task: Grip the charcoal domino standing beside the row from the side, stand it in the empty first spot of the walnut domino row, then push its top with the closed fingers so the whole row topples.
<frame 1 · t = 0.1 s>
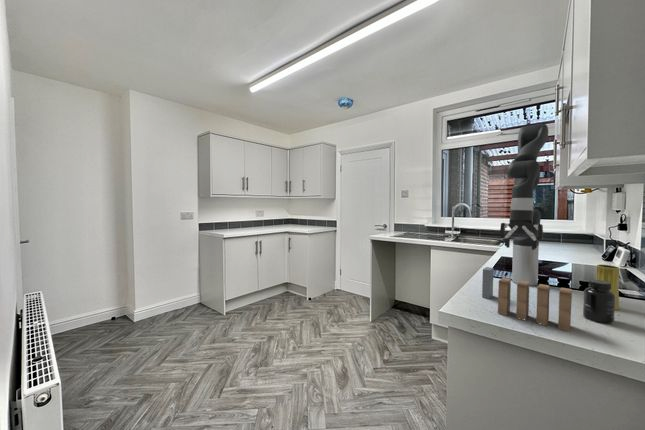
hand: (520, 248, 111), 17 cm above the counter, tool pointing down, fingers open, 8 cm apart
vase: (605, 307, 93), on the counter
supplement bottle: (598, 320, 84), on the counter
domino 2: (522, 316, 86), on the counter
domino 3: (542, 321, 82), on the counter
domino 1: (503, 312, 89), on the counter
domino 4: (564, 327, 79), on the counter
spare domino: (487, 296, 104), on the counter
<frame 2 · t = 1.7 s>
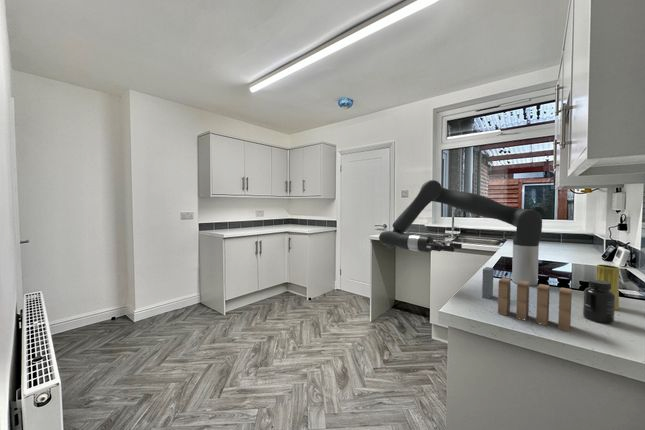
hand: (457, 247, 111), 18 cm above the counter, tool horizontal, fingers open, 8 cm apart
nothing on the counter moved.
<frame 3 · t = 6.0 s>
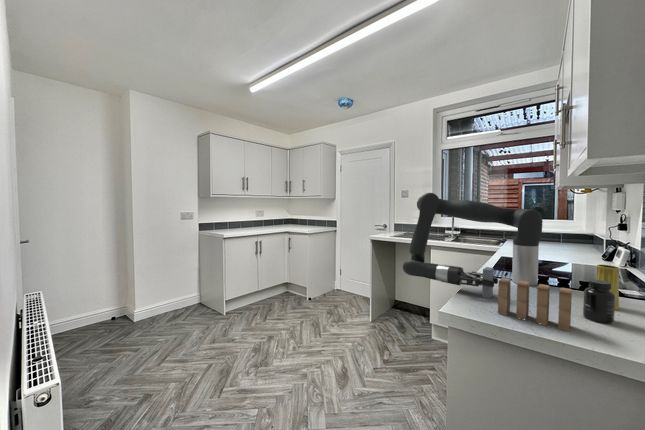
hand: (495, 282, 102), 6 cm above the counter, tool horizontal, fingers closed on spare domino, 5 cm apart
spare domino: (487, 296, 104), on the counter, touching gripper
everything else where it was.
when the fingers open (7 cm above the counter, at t = 11.6 s): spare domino stays where it is, on the counter.
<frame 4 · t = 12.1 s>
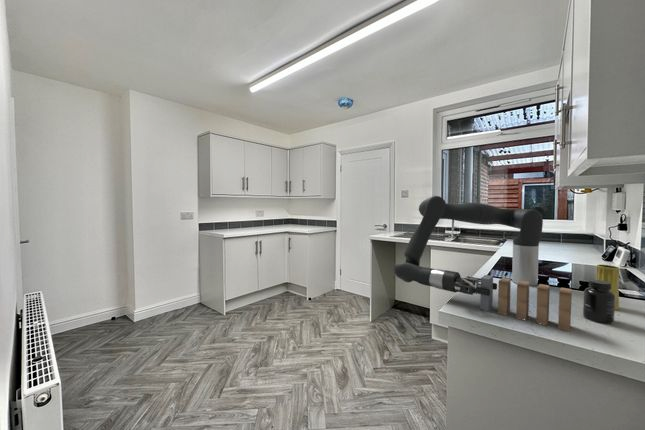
hand: (493, 289, 91), 7 cm above the counter, tool horizontal, fingers open, 8 cm apart
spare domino: (486, 308, 93), on the counter
everything else where it was.
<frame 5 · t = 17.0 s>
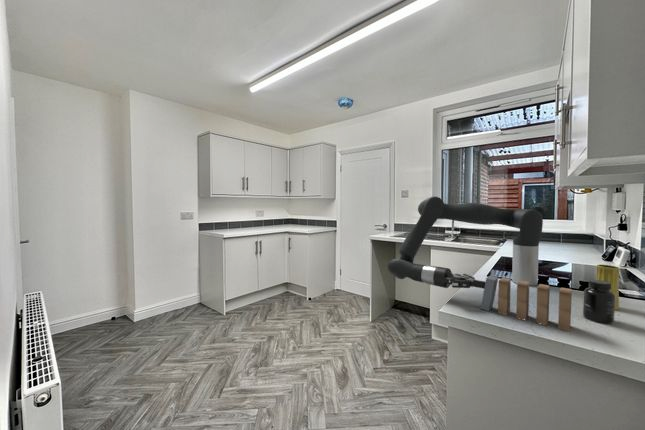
hand: (486, 285, 93), 8 cm above the counter, tool horizontal, fingers closed
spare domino: (486, 307, 93), on the counter, tilted 8°
everything else where it was.
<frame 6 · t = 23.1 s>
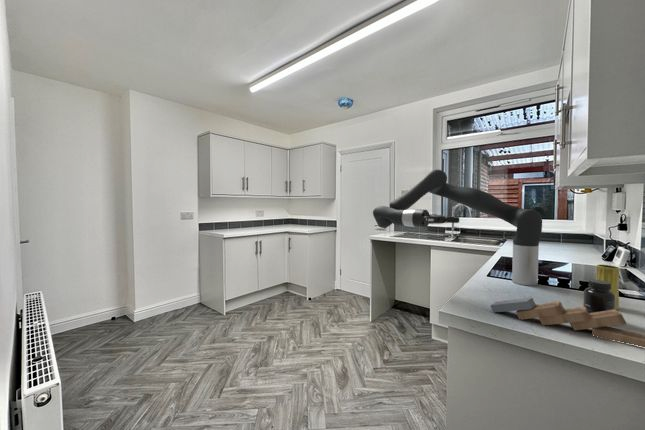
hand: (458, 220, 102), 30 cm above the counter, tool horizontal, fingers closed
domino 2: (541, 318, 82), point 1 cm above the counter, tilted 66°, touching domino 1
domino 3: (570, 323, 78), point 1 cm above the counter, tilted 67°, touching domino 4
domino 1: (519, 313, 86), point 1 cm above the counter, tilted 65°, touching domino 2, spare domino
domino 4: (592, 329, 75), point 1 cm above the counter, tilted 90°, touching domino 3
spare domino: (494, 306, 91), point 1 cm above the counter, tilted 67°, touching domino 1
everything else where it was.
at the end: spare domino inside the target area (0.9 cm from its centre), point 1.1 cm above the counter; domino 4 tilted 90°; the gripper is holding nothing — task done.
